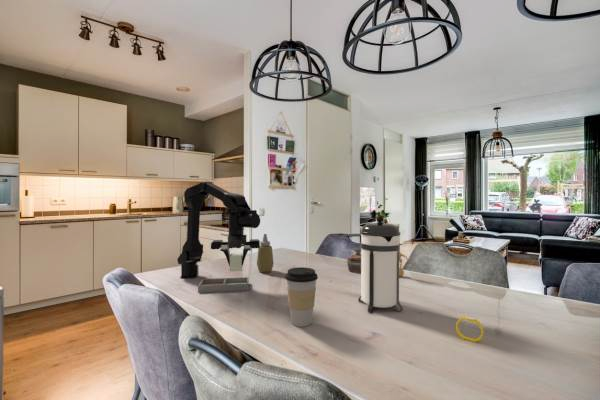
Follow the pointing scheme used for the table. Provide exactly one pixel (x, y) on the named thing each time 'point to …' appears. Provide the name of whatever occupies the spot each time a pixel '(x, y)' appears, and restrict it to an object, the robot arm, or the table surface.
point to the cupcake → (354, 261)
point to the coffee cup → (301, 294)
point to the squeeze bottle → (265, 256)
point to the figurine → (401, 264)
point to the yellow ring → (471, 319)
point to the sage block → (236, 262)
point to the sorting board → (223, 284)
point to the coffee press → (380, 265)
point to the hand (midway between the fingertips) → (236, 265)
